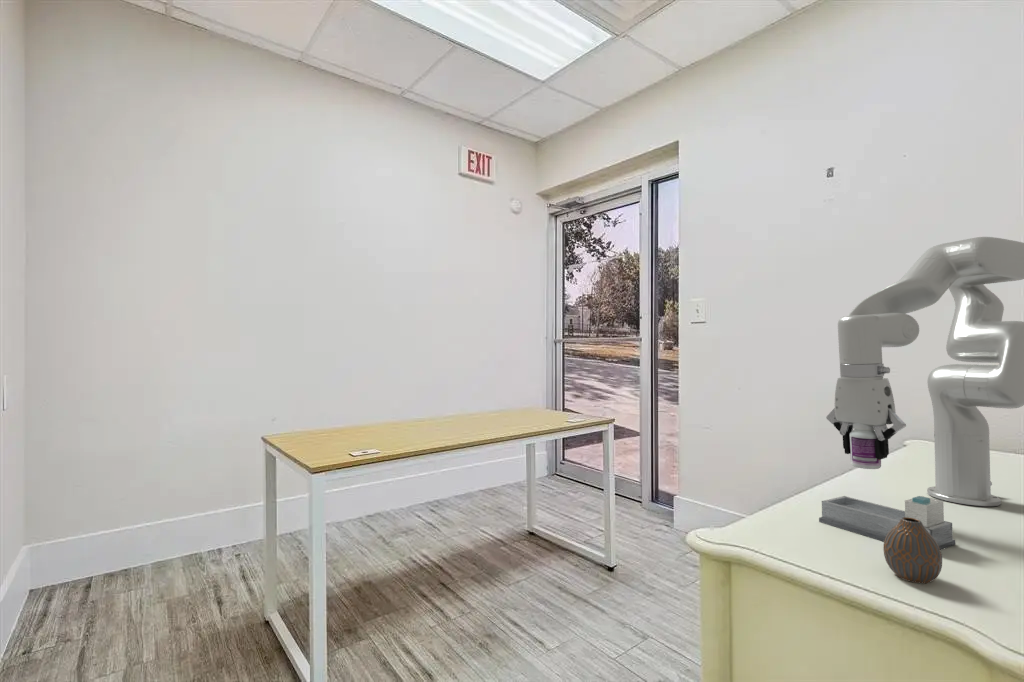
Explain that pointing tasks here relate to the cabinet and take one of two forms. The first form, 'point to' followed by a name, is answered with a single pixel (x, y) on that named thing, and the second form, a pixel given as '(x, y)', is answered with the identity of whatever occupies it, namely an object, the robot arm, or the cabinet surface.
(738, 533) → the cabinet surface
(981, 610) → the cabinet surface
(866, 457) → the pill bottle
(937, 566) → the vase
